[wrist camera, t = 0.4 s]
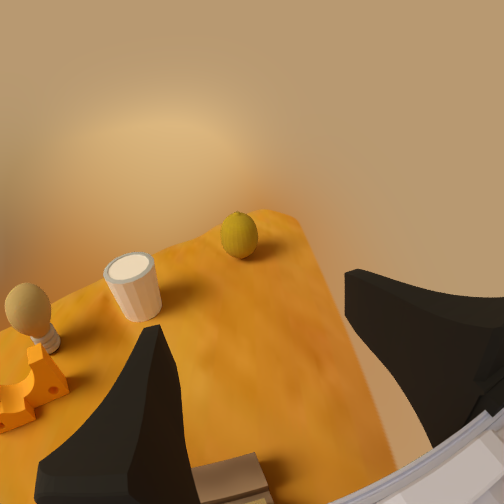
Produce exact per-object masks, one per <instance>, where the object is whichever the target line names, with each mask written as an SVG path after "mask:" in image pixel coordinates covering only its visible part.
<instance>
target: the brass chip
mask: <svg viewBox="0 0 504 504" xmlns="http://www.w3.org/2000/svg"><path fill="white" fill-rule="evenodd" d="M245 504H267V503H266V501H265V498H262V499H259V500H256V501H252V502H249V503H245Z"/></svg>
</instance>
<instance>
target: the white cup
mask: <svg viewBox="0 0 504 504" xmlns="http://www.w3.org/2000/svg"><path fill="white" fill-rule="evenodd" d="M103 276H104V278H105V280H106V282H107V284H108V286H109V288H110V290H111V291H112V293H113V295H114V297H115V299H116V301H117V303H118V304H119V306H120V308H121V310H122V312H123V313H124V315H125V317H126V318H127V319H128V320H130V321H132V322H143V321H147V320H149V319H151V318H153V317H155V316H156V315H157V314H158V313H159V312H160V310H161V307H162V301H161V296H160V291H159V286H158V281H157V275H156V270H155V264H154V258H153V257H152V256H151V255H150V254H147V253H144V252H132V253H128V254H124V255H122V256H120V257H117V258H115V259H114V260H113V261H111V262H110V263H109V264H108V265H107V266H106V268H105V269H104V274H103Z"/></svg>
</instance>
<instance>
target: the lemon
mask: <svg viewBox="0 0 504 504" xmlns="http://www.w3.org/2000/svg"><path fill="white" fill-rule="evenodd" d="M221 242H222V245H223V248H224V249H225V251H226V252H227V253H228V254H229V255H230V256H232V257H235V258H240V259H243V258H244V257H247V256H249V255H250V254H252V253H253V251H254V250H255V248H256V246H257V242H258V232H257V228H256V225H255V223H254V221H253V219H252V218H251V217H250V216H248V215H247V214H244V213H240V212H235V213H233V214H231V215H229V216H228V217H227V218H226V219H225V220H224V221H223V224H222V227H221Z"/></svg>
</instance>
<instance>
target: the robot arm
mask: <svg viewBox="0 0 504 504" xmlns="http://www.w3.org/2000/svg"><path fill="white" fill-rule="evenodd" d="M345 316H346V318H347V319H348V321H349V323H350V324H351V326H352V327H353V329H354V330H355V332H356V333H357V334H358V336H359V337H360V338H361V339H362V340H363V342H364V343H365V344H366V345H367V346H368V347H369V349H370V350H371V351H372V352H373V353H374V354H375V355H376V356H377V358H378V359H379V360H380V361H381V362H382V363H383V364H384V366H385V367H386V368H387V369H388V370H389V372H390V373H391V374H392V376H393V377H394V378H395V380H396V381H397V383H398V384H399V386H400V387H401V389H402V390H403V392H404V393H405V395H406V397H407V399H408V400H409V402H410V404H411V405H412V407H413V409H414V410H415V412H416V414H417V416H418V418H419V420H420V422H421V423H422V425H423V427H424V430H425V432H426V434H427V436H428V438H429V440H430V443H431V445H432V447H433V449H432V450H430V451H429V452H427V453H426V454H424V455H423V456H421V457H419V458H418V459H416V460H414V461H413V462H411V463H410V464H408V465H406V466H404V467H403V468H401V469H399V470H397V471H395V472H394V473H392V474H390V475H388V476H386V477H384V478H382V479H381V480H379V481H377V482H375V483H373V484H371V485H369V486H367V487H364V488H362V489H360V490H358V491H356V492H354V493H352V494H349V495H347V496H345V497H343V498H340V499H338V500H335V501H333V502H331V503H328V504H504V297H500V298H483V297H468V296H458V295H451V294H446V293H441V292H435V291H431V290H427V289H423V288H419V287H416V286H412V285H409V284H406V283H402V282H399V281H396V280H393V279H390V278H387V277H384V276H381V275H378V274H375V273H372V272H369V271H365V270H361V269H355V270H352V271H349V272H346V273H345ZM34 500H35V502H36V503H37V504H201V502H200V499H199V496H198V493H197V489H196V486H195V482H194V478H193V474H192V471H191V467H190V462H189V458H188V454H187V449H186V444H185V437H184V425H183V413H182V400H181V387H180V382H179V377H178V372H177V366H176V363H175V361H174V358H173V356H172V354H171V351H170V349H169V346H168V344H167V342H166V339H165V337H164V334H163V331H162V329H161V326H160V324H159V325H155V326H151V327H146V328H144V329H143V331H142V332H141V334H140V336H139V338H138V341H137V343H136V345H135V347H134V349H133V351H132V353H131V355H130V357H129V359H128V360H127V362H126V364H125V366H124V368H123V370H122V372H121V373H120V375H119V377H118V378H117V380H116V382H115V384H114V385H113V387H112V388H111V390H110V391H109V393H108V394H107V396H106V397H105V398H104V400H103V401H102V403H101V404H100V405H99V406H98V408H97V409H96V410H95V411H94V412H93V414H92V415H91V416H90V417H89V418H88V419H87V420H86V422H85V423H84V424H83V425H82V426H81V427H80V428H79V429H78V430H77V431H76V432H75V433H74V434H73V435H72V436H71V437H70V438H69V439H68V440H67V441H65V442H64V443H63V444H62V445H61V446H60V447H58V448H57V449H56V450H55V451H53V452H52V453H51V454H49V455H48V456H47V457H45V458H44V459H43V460H41V461H40V462H39V465H38V471H37V478H36V485H35V493H34Z"/></svg>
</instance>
